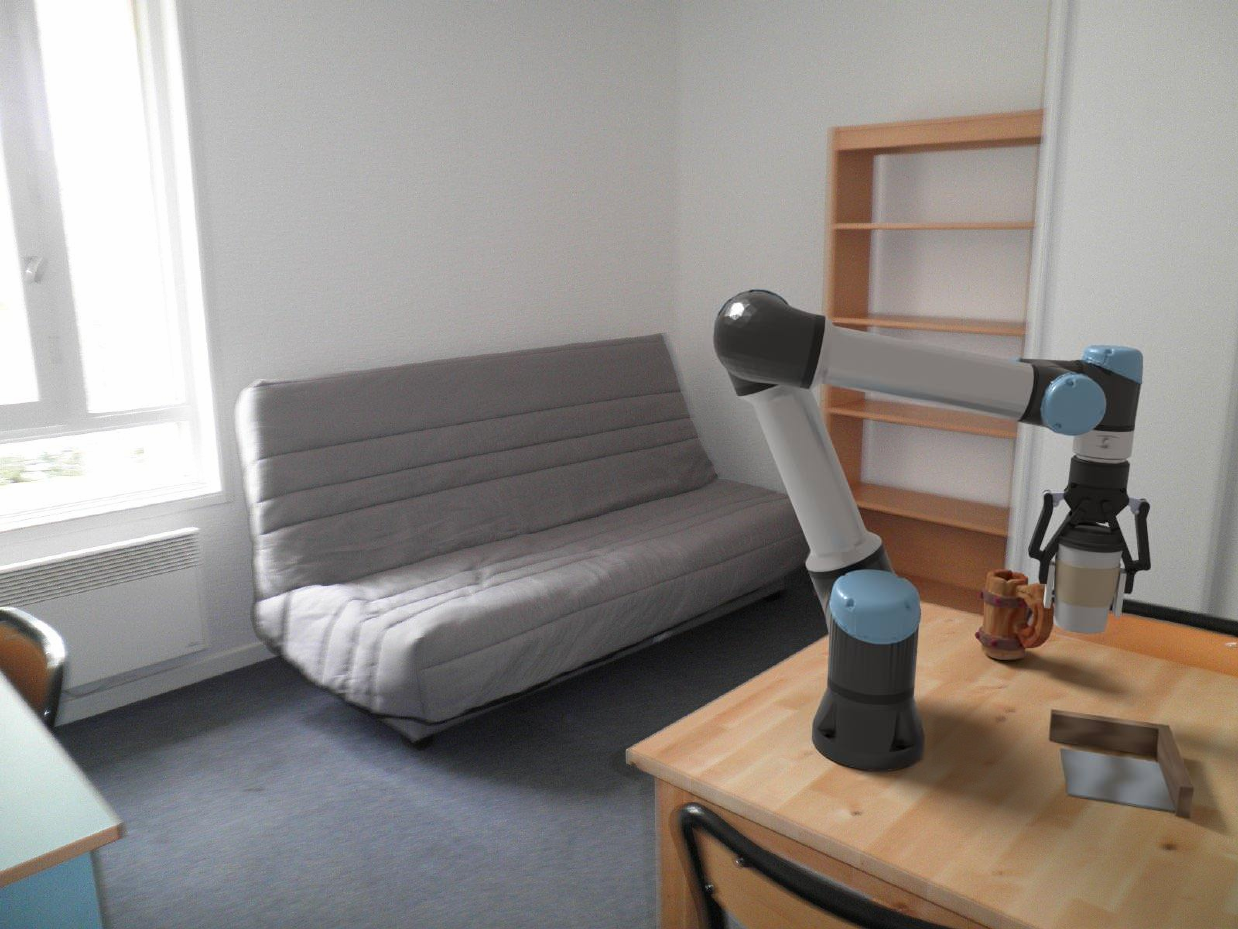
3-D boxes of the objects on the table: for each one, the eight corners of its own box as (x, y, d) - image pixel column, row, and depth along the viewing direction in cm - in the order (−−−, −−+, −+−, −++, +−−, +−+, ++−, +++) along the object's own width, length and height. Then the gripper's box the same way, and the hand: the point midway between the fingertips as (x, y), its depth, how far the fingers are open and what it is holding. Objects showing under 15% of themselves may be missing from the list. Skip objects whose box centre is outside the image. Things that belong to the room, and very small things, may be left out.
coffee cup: (1121, 640, 140) (1135, 537, 136) (1052, 634, 141) (1065, 532, 138) (1104, 616, 148) (1117, 519, 145) (1039, 611, 150) (1051, 515, 147)
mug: (963, 647, 171) (970, 564, 167) (1003, 641, 173) (1010, 559, 170) (1021, 682, 157) (1029, 592, 154) (1063, 676, 160) (1073, 587, 156)
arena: (1057, 796, 125) (1060, 767, 124) (1048, 735, 141) (1051, 709, 140) (1189, 818, 120) (1194, 788, 120) (1165, 752, 136) (1169, 725, 135)
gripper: (1020, 455, 139) (1003, 608, 144) (1192, 469, 132) (1168, 629, 138) (1018, 445, 146) (1002, 591, 151) (1181, 458, 139) (1158, 610, 144)
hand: (1081, 609), depth 144 cm, fingers closed on coffee cup, 9 cm apart
